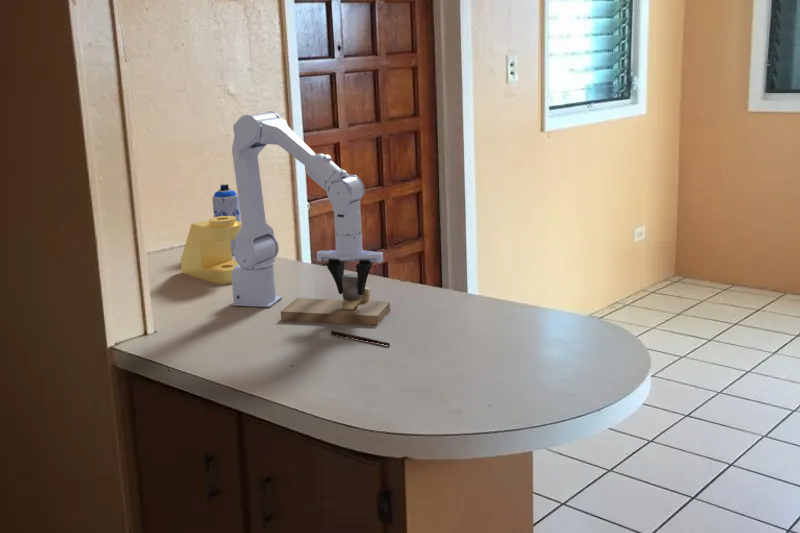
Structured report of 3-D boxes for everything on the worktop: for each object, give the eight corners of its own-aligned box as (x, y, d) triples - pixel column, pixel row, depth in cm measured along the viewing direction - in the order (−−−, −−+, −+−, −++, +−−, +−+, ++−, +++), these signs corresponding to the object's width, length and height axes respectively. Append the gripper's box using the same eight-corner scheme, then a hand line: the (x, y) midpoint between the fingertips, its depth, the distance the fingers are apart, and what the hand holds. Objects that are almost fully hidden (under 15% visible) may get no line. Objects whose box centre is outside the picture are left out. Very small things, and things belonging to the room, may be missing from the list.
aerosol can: (248, 249, 253) (242, 182, 247) (238, 256, 245) (232, 187, 240) (223, 249, 254) (216, 182, 249) (212, 255, 247) (205, 187, 242)
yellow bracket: (253, 278, 222) (248, 217, 218) (222, 285, 216) (216, 223, 211) (211, 265, 236) (205, 208, 232) (181, 272, 230) (175, 214, 225)
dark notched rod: (330, 335, 177) (329, 330, 176) (331, 334, 177) (331, 330, 177) (388, 348, 168) (388, 343, 168) (390, 347, 168) (389, 342, 168)
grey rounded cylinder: (337, 315, 186) (334, 280, 184) (349, 303, 194) (347, 269, 192) (359, 316, 185) (357, 280, 183) (370, 304, 193) (368, 269, 191)
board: (281, 320, 187) (280, 311, 186) (297, 306, 196) (297, 297, 196) (377, 324, 181) (377, 315, 181) (390, 310, 191) (389, 301, 190)
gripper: (310, 236, 182) (314, 297, 185) (375, 237, 178) (378, 299, 182) (321, 229, 189) (325, 288, 192) (384, 230, 185) (387, 290, 188)
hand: (351, 293), depth 187 cm, fingers closed on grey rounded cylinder, 4 cm apart
